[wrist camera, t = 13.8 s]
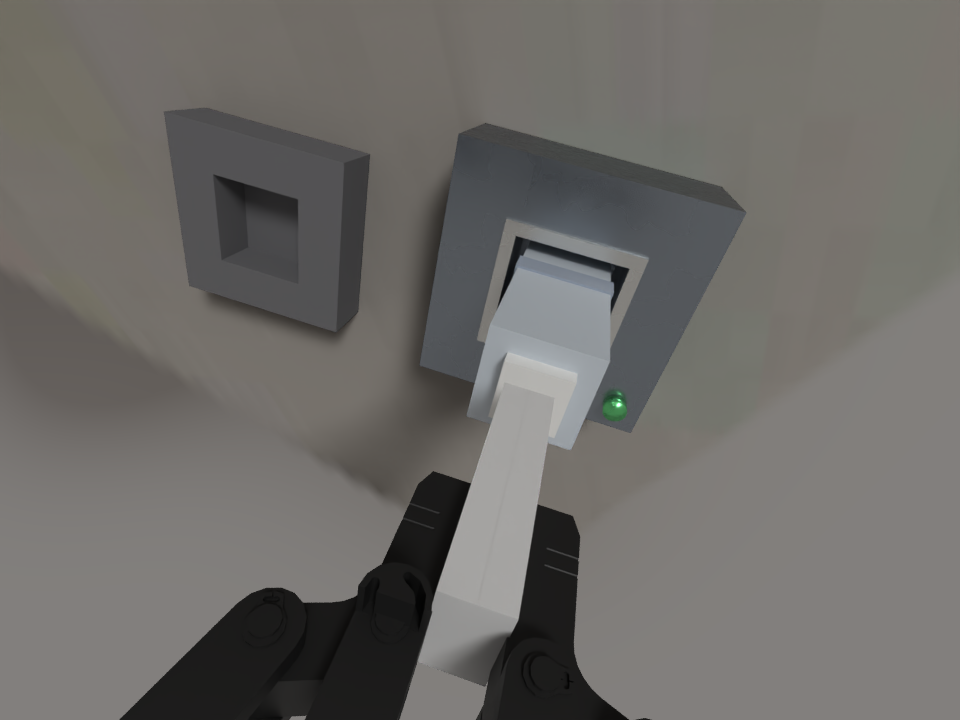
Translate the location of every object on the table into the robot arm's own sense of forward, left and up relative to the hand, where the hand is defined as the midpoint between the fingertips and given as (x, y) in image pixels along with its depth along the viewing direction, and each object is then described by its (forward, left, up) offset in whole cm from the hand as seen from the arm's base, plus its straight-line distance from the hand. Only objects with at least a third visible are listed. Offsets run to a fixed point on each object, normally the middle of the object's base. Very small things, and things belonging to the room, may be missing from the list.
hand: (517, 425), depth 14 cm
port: (0, 0, -15) cm, 15 cm away
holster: (-17, -2, -15) cm, 22 cm away
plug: (0, 0, -14) cm, 14 cm away
